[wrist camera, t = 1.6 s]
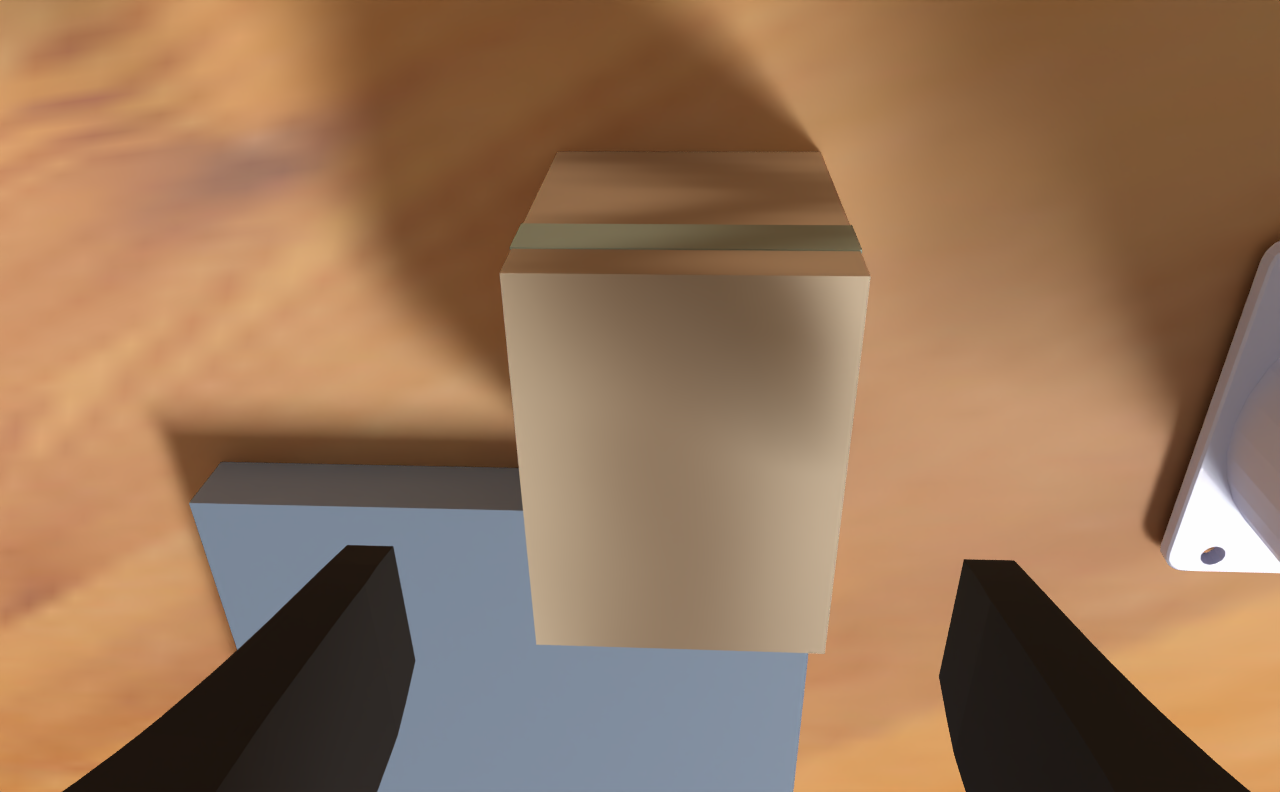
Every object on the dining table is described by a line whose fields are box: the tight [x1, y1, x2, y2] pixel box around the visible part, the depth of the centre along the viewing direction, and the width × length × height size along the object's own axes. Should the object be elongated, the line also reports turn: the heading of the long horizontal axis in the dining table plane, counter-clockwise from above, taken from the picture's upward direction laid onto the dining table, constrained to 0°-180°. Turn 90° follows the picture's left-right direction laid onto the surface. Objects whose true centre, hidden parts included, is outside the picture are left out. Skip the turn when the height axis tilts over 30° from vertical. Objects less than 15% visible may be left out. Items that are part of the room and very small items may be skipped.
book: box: [189, 462, 808, 792], centre depth 26 cm, size 14×18×2 cm
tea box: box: [500, 151, 871, 654], centre depth 17 cm, size 5×7×6 cm
